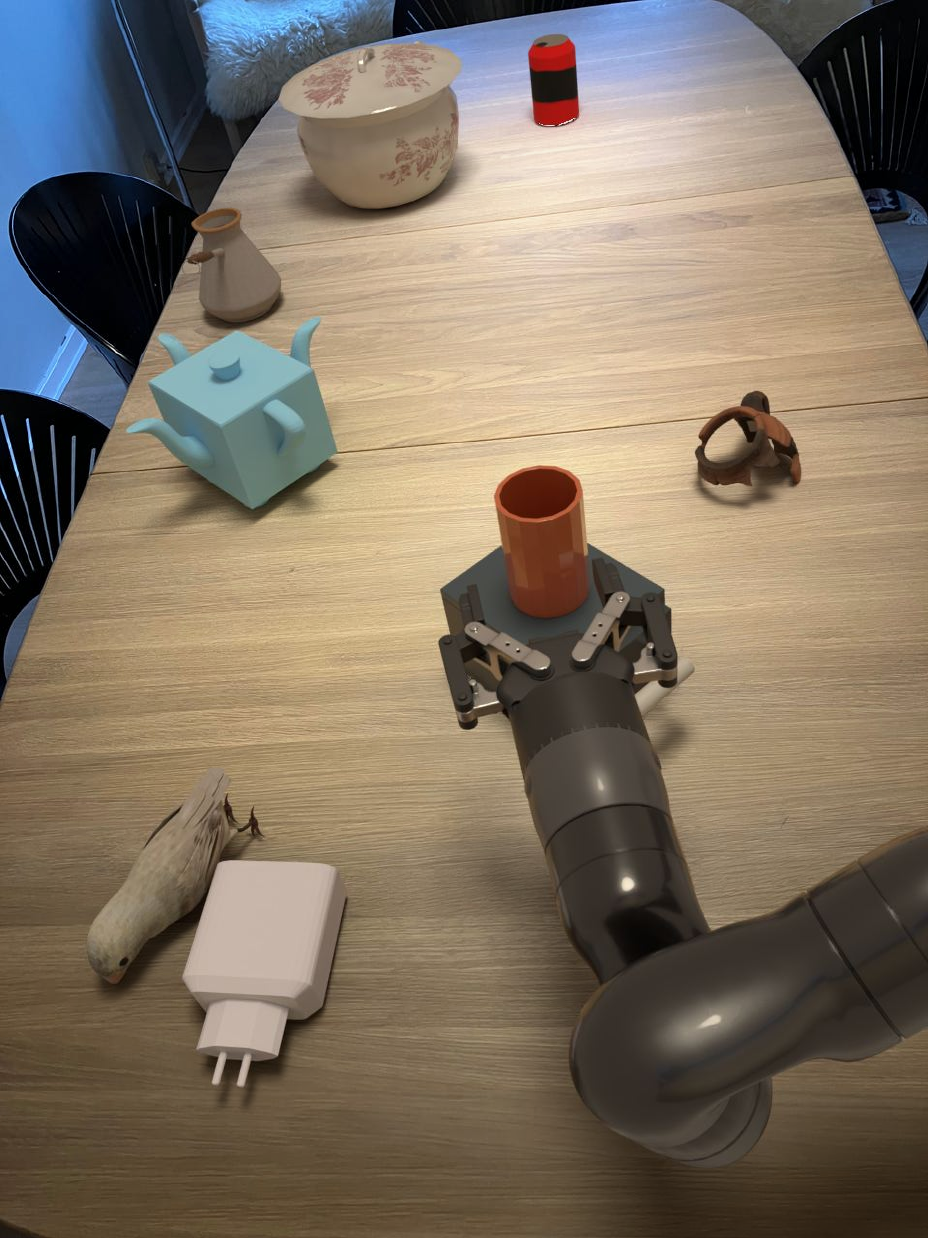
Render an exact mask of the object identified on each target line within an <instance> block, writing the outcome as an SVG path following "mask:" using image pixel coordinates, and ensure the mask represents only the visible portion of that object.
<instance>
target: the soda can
mask: <svg viewBox="0 0 928 1238" xmlns="http://www.w3.org/2000/svg"><path fill="white" fill-rule="evenodd" d="M576 54H577V53H576V45H575V44H574V42H573V41H572V40H571V39H570V37H569V36H568V35H567V34H563V33H552V34H551V33H550V34H545V35H542V36H540V37H537V38H535V39H533V41H532V44H531V46H530V48H529V49H528V52H527V58H528V68H529V79H530V80H529V81H530V89H531V90H530V91H531V101H532V113H533V120H534V122H535V123H536V124H538V123H540V124H543V125H559V124H561V123H564V122H566V121H569V120H571V119H573V118H576V117H577V118H578V116H579V115H580V103H579V89H578V88H579V87H578V85H579V84H578V70H577V55H576ZM578 114H579V115H578ZM577 118H576V119H577Z"/></svg>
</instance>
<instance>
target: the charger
mask: <svg viewBox="0 0 928 1238" xmlns="http://www.w3.org/2000/svg"><path fill="white" fill-rule="evenodd" d="M347 893H348V889H347V887H346V885H345V883H344V880H343V878H342V876H341V874H340V872H339V870H338V868H337V867H336V866H333V865H331V864H327V863H321V862H310V861H309V862H306V861H304V862H303V861H272V860H271V861H269V860H239V859H238V860H237V859H235V860H234V859H233V860H231V859H230V860H222V861H219V863H218V864H217V868H216V871H215V874H214V877H213V879H212V881H211V883H210V886H209V890H208V893H207V896H206V899H205V903H204V906H203V909H202V912H201V916H200V919H199V922H198V926H197V928H196V932H195V935H194V938H193V942H192V944H191V948H190V951H189V954H188V957H187V961H186V965H185V967H184V971H183V973H182V977H181V980H182V981H183V983H184V984H185V986H186V987H187V989H188V991H189V992H190V994H191V996H192V997H193V998H194V999H195V1000H196V1002H197V1003H198V1004H199V1005H200V1007H201V1008H202V1009H203V1010H204V1012H206V1015H205V1017H204V1022H203V1026H202V1028H201V1033H200V1036H199V1039H198V1042H197V1046H196V1050H195V1051H196V1052H199V1053H201V1054H203V1055H207V1056H213V1057H215V1058H217V1062H216V1065H215V1069H214V1072H213V1077H212V1080H211V1085H212V1086H214V1087H217V1086H219V1085H220V1084H221V1080H222V1078H223V1073H224V1068H225V1065H226V1060H235V1061H236V1060H237V1061H242V1062H241V1066H240V1071H239V1074H238V1078H237V1082H236V1087H238V1088H240V1089H241V1088H244V1087H245V1085H246V1083H247V1079H248V1078H247V1077H248V1074H249V1070H250V1065H251V1062H261V1061H268V1060H273V1059H275V1058H277V1057H278V1056H279V1054H280V1050H281V1044H282V1040H283V1035H284V1031H285V1027H286V1023H287V1020H296V1021H297V1020H298V1021H299V1020H300V1021H301V1020H306V1019H308V1018H309V1017H310V1016H312V1015H313V1014H314V1013H316V1012H317V1011H318V1010H320V1009H321V1008H322V1007H323V1005H324V1001H325V997H326V992H327V988H328V987H327V986H328V983H329V978H330V973H331V969H332V965H333V964H332V963H333V959H334V954H335V949H336V945H337V940H338V936H339V931H340V926H341V921H342V916H343V911H344V907H345V902H346V898H347Z"/></svg>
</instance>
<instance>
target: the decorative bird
mask: <svg viewBox="0 0 928 1238" xmlns="http://www.w3.org/2000/svg"><path fill="white" fill-rule="evenodd" d="M231 782H232V778H231V777H230V776H229V775H228V774H227V773H225V770H224V768H223V767H221V766H220V765H215V766H214V767H209V768H208V769H207V770H206V772H205V773H204V774H203V777H202V778H200V779H198V781H197V783H196V784H195V786H194V787H193V788H192V790H191V791H190V793H189V794H188V796H187V798H186V799H185V801H183V802H182V803H181V804H179V805H178V806H177V807H175V808H174V809H173V810H172V811H171V812H170V813H168V814H167V815H166V816H165V817H164V818H163V819H162V820H161V821H160V822H159V823H158V824H157V825H156V826H155V828H154V829H153V830H152V831H151V833H150V835H149V836H148V837H147V838H146V841H145V842H144V843H143V845H142V847H141V849H140V852H139V853H138V855H137V856H136V859H135V861H134V863H133V865H132V867H131V869H130V871H129V874H128V876H127V878H126V880H125V882H123V884H122V885H121V887H120V888H119V890H118V891H117V892H116V893H115V894H114V895H113V896H112V897H111V899H110V900H109V901H108V902H107V903H106V904H105V906H104V907H103V908H102V909H101V910H100V911H99V912H98V914H97V915H96V917H95V918H94V920H93V922H92V923H91V924H90V927H89V930H88V933H87V936H86V942H85V943H86V944H85V945H86V952H87V959H88V962H89V965H90V967H91V968H92V970H93V971H94V972H95V973H96V974H98V975H100V976H101V977H102V978H104V980H106V981H107V982H108V983H110V984H112V985H117V984H118V983H120V982H121V980H122V979H123V977H124V975H126V972H127V970H128V968H129V966H130V965H131V963H133V961H134V960H135V959H136V957H138V955H139V953H140V951H141V949H142V948H143V946H144V945H145V944H146V943H147V942H148V940H149V939H152V938H153V939H154V937H156V936H158V935H159V934H161V933H162V932H164V931H165V930H166V929H167V928H168V927H169V926H171V925H172V924H174V923H175V922H177V921H178V920H179V919H182V918H183V917H184V916H186V915H188V914H190V912H192V911H193V910H194V909H195V908H196V907H197V906H198V905H199V904H200V902H201V901H202V900H203V898H204V896H205V894H206V893H207V891H208V889H209V888H210V886H211V884H212V880H213V877H214V874H215V871H216V868H217V864H218V863H220V858H221V855H222V853H223V851H224V850H223V849H225V847H226V846H227V844H229V842H230V841H231V840H232V839H233V838H235V836H236V835H238V833H243V832H245V831H246V830H248V829H249V828H250V832H251V834H252V836H253V837H256V835H255V832H256V833H257V834H258V835H259V836H261V837H263V838H266V836H265V835H264V834H262V832H261V830H260V828H259V820H258V818H256V817H255V814H254V811H255V810H254V809H255V805H253V806H252V808H251V810H250V815H249V816H250V818H248V822H247V823H246V824H245V825H244V826H243V827H239V828H238V827H236V828H232V829H230V821H229V819H231V821H233V822H234V823H235V824H238V825H239V824H240V822H238V821H237V820H236V819H235V817H234V815H233V808H232V806H231V804H230V803H229V801H228V797H229V792H227V793H226V794H225V792H226V790H227V789H228V788H229V786H230V785H231ZM224 796H225V797H224ZM223 798H224V803H223Z"/></svg>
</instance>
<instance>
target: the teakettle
mask: <svg viewBox="0 0 928 1238" xmlns="http://www.w3.org/2000/svg"><path fill="white" fill-rule="evenodd" d="M321 321H322V317H320V316H316V317H313V318H311V319H308V320H306V321H305V322H304V323H302V324H301V325H300V326H299V327H298V328H297V330H296V331H295V333H294V335H293V338H292V341H291V346H290V351H289V355H288V354H285V353H283V352H282V351H280V350H277V349H276V348H274V347H273V346H269V345H268V344H266V343H264V342H262V341H259V340H257V339H256V338H255V337H251V336H250V335H248V334H245V333H244V332H242V331H239V330H235V331H233V332H231V333H229V334H228V335H226V336H224V337H222V338H221V339H219V340H217V341H215V342H214V343H212V344H210V345H208V346H207V347H205V348H203V349H201V350H200V351H198V352H196V353H195V354H191V352H190V351H189V350H188V349H187V348H186V347H185V345H183V342H181V341H180V340H179V339H178V338H177V337H176V336H174V335H172V334H169V333H160V334H158V336H157V340H158V342H159V343H160V344H161V345H162V346H163V348H164V349H165V350H166V352H167V354H168V355H169V356H170V358H171V360H172V363H173V365H174V366H172V367H170V368H168V369H167V370H165V371H163V372H161V373H160V374H159V375H157V376H155V377H153V378H151V379H149V380H148V382H147V384H148V387H149V390H150V391H151V394H152V396H153V398H154V400H155V403H156V405H157V408H158V411H159V412H160V415H161V417H162V419H161V418H157V417H147V418H143V419H141V420H139V421H136V422H135V423H133V424H131V425H130V426H129V427H128V428H126V430H125V433H127V434H147V435H151V436H152V437H154V438H156V439H158V440H159V441H160V442H161V444H163V446H164V447H165V448H166V449H167V450H168V451H169V452H170V454H172V455H173V456H174V457H175V459H177V460H179V461H180V462H181V463H182V464H184V465H185V466H187V467H189V468H190V469H191V470H193V471H194V472H196V473H197V474H199V475H200V476H202V477H203V478H205V479H206V480H207V481H208V482H209V483H211V484H214V485H215V486H216V487H218V488H219V489H221V490H223V491H224V492H225V493H226V494H228V495H230V496H232V497H233V498H234V499H236V500H237V501H239V502H240V503H241V504H243V505H244V507H247V508H249V509H251V510H254V509H256V508H257V509H258V508H260V507H262V506H264V505H266V504H267V503H268V502H269V500H270V499H271V498H272V497H274V496H275V495H277V494H278V493H279V492H281V491H283V490H284V489H286V488H287V487H289V486H290V485H291V484H293V483H294V482H296V481H297V480H299V479H300V478H301V477H303V476H305V475H306V474H310V473H313V472H315V471H316V470H317V469H318V468H319V467H320V466H321V464H323V463H324V462H326V461H327V460H329V459H330V458H332V457H333V456H335V455H336V454H337V453H338V452H339V451H338V447H337V444H336V441H335V438H334V437H335V436H334V434H333V430H332V427H331V425H330V419H329V417H328V413H327V409H326V406H325V403H324V399H323V396H322V392H321V389H320V385H319V383H318V378H317V376H316V375H317V374H316V372H315V369H314V368H312V365H311V355H310V347H311V340H312V338H313V335H314V333H315V331H316V329H317V328H318V326H319V325H320V323H321Z"/></svg>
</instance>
